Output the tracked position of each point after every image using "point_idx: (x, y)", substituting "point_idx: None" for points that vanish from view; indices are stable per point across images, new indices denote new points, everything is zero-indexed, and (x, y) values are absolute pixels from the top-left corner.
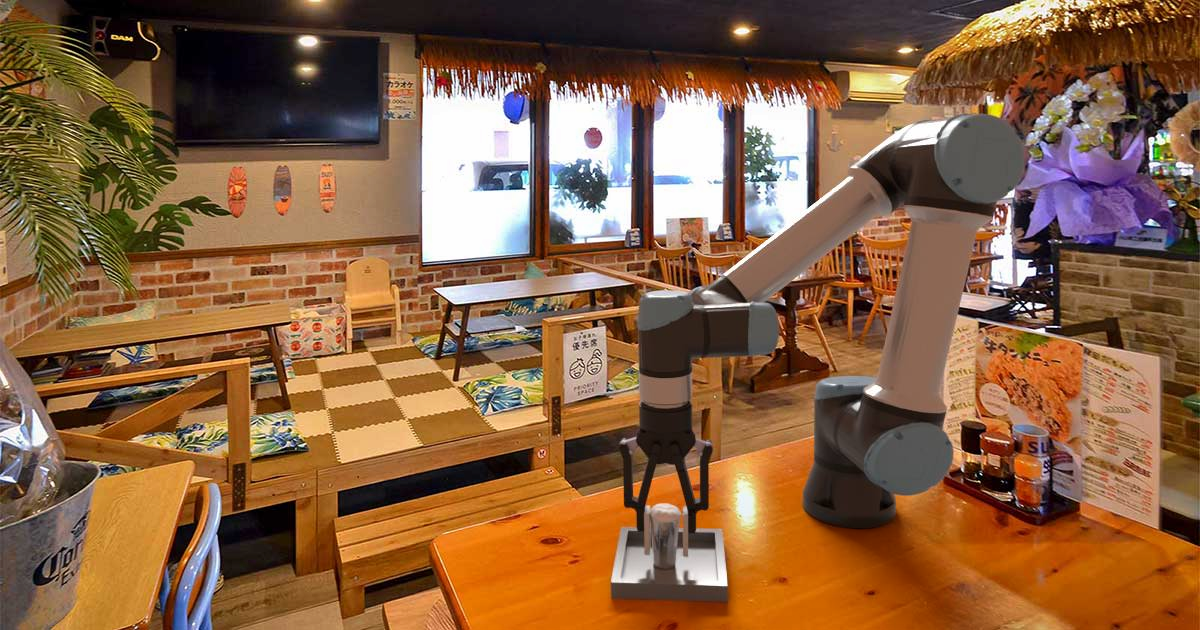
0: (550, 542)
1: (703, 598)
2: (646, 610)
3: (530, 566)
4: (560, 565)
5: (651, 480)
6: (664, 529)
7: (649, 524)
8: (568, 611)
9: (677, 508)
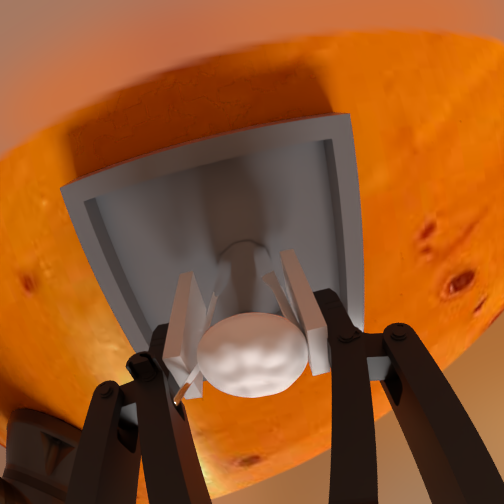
0: (462, 276)
1: (119, 162)
2: (240, 84)
3: (484, 196)
4: (446, 211)
5: (333, 458)
6: (240, 296)
7: (298, 308)
8: (401, 56)
9: (214, 385)
